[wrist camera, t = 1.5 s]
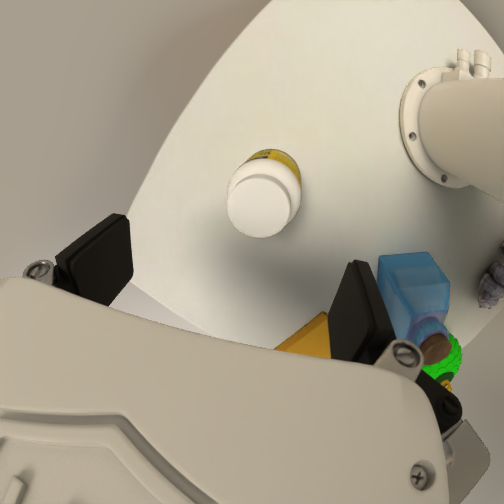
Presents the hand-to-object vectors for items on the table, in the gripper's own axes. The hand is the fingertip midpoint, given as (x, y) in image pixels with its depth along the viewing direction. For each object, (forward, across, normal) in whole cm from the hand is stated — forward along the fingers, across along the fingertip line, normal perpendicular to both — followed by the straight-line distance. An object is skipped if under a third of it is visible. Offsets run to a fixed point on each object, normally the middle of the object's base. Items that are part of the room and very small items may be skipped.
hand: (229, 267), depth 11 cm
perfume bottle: (+17, -17, +8) cm, 25 cm away
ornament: (+17, -28, +17) cm, 36 cm away
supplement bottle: (+17, 0, 0) cm, 17 cm away
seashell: (+17, -32, +4) cm, 37 cm away
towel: (+16, -12, +22) cm, 30 cm away
